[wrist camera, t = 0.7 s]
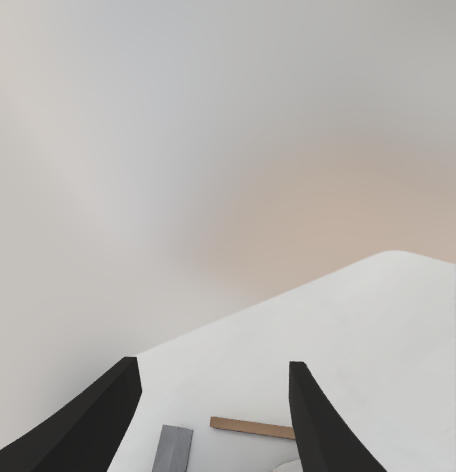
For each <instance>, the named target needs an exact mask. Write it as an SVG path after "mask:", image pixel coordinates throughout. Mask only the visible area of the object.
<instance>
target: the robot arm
mask: <svg viewBox="0 0 456 472" xmlns="http://www.w3.org/2000/svg"><path fill="white" fill-rule="evenodd" d="M141 394H142V387H141V381H140V375H139V369H138V362H137V357H124V358H122V359H121V360H120V361H119V362H117V363H116V364H115V365H114V366H113V367H112V368H110V369H109V370H108V371H107V372H106V373H104V374H103V375H102V376H101V377H100V378H99V379H97V380H96V381H95V382H94V383H93V384H91V385H90V386H89V387H88V388H87V389H85V390H84V391H83V392H82V393H81V394H79V395H78V396H77V397H75V398H74V399H73V400H72V401H70V402H69V403H68V404H66V405H65V406H64V407H63V408H61V409H60V410H59V411H58V412H56V413H55V414H53V415H52V416H51V417H49V418H48V419H47V420H45V421H44V422H42V423H41V424H39V425H38V426H37V427H35V428H34V429H32V430H31V431H29V432H28V433H26V434H25V435H23V436H22V437H20V438H19V439H17V440H16V441H14V442H12V443H11V444H9V445H7V446H6V447H4V448H3V449H1V450H0V472H107V470H108V468H109V466H110V464H111V462H112V460H113V457H114V455H115V453H116V451H117V449H118V447H119V445H120V443H121V441H122V439H123V437H124V435H125V433H126V431H127V429H128V427H129V425H130V422H131V420H132V418H133V416H134V413H135V411H136V408H137V405H138V403H139V400H140V397H141ZM289 404H290V412H291V419H292V425H293V430H294V434H295V439H296V443H297V447H298V452H299V456H300V460H301V465H302V469H303V472H387V471H386V470H385V469H384V468H383V466H382V465H381V464H380V463H379V462H378V461H377V460H376V459H375V458H374V457H373V456H372V454H371V453H370V452H369V451H368V450H367V449H366V447H365V446H364V445H363V444H362V443H361V442H360V440H359V439H358V438H357V437H356V436H355V434H354V433H353V432H352V431H351V429H350V428H349V427H348V426H347V424H346V423H345V422H344V421H343V419H342V418H341V417H340V415H339V414H338V413H337V411H336V410H335V409H334V407H333V406H332V404H331V403H330V401H329V400H328V399H327V397H326V396H325V394H324V393H323V391H322V390H321V388H320V387H319V385H318V384H317V382H316V381H315V379H314V377H313V376H312V374H311V372H310V371H309V369H308V367H307V365H306V364H305V363H304V362H294V361H290V364H289Z"/></svg>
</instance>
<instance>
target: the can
mask: <svg viewBox="0 0 456 472" xmlns="http://www.w3.org/2000/svg"><path fill="white" fill-rule="evenodd" d="M272 472H303V469H302V465H301V460H300V459H297V460H294V461H291V462H288V463H285V464H281V465H279V466H278V467H277V468H276V469H275V470H274V471H272Z"/></svg>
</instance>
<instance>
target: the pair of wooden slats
mask: <svg viewBox="0 0 456 472" xmlns="http://www.w3.org/2000/svg"><path fill="white" fill-rule="evenodd" d="M210 427H213V428H220V429H227V430H233V431H240V432H247V433H254V434H260V435H267V436H274V437H281V438H287V439H294V440H296V439H295V434H294V430H293V428H291V427H284V426H277V425H269V424H262V423H255V422H247V421H240V420H233V419H225V418H218V417H211V420H210Z"/></svg>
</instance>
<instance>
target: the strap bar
mask: <svg viewBox="0 0 456 472" xmlns="http://www.w3.org/2000/svg"><path fill="white" fill-rule="evenodd" d="M192 431H193V430H189V429H185V428H180V427H175V426H169V425H163V427H162V431H161V436H160V440H159V444H158V448H157V453H156V457H155V461H154V465H153V469H152V472H186V466H187V460H188V455H189V449H190V443H191V437H192Z"/></svg>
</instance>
